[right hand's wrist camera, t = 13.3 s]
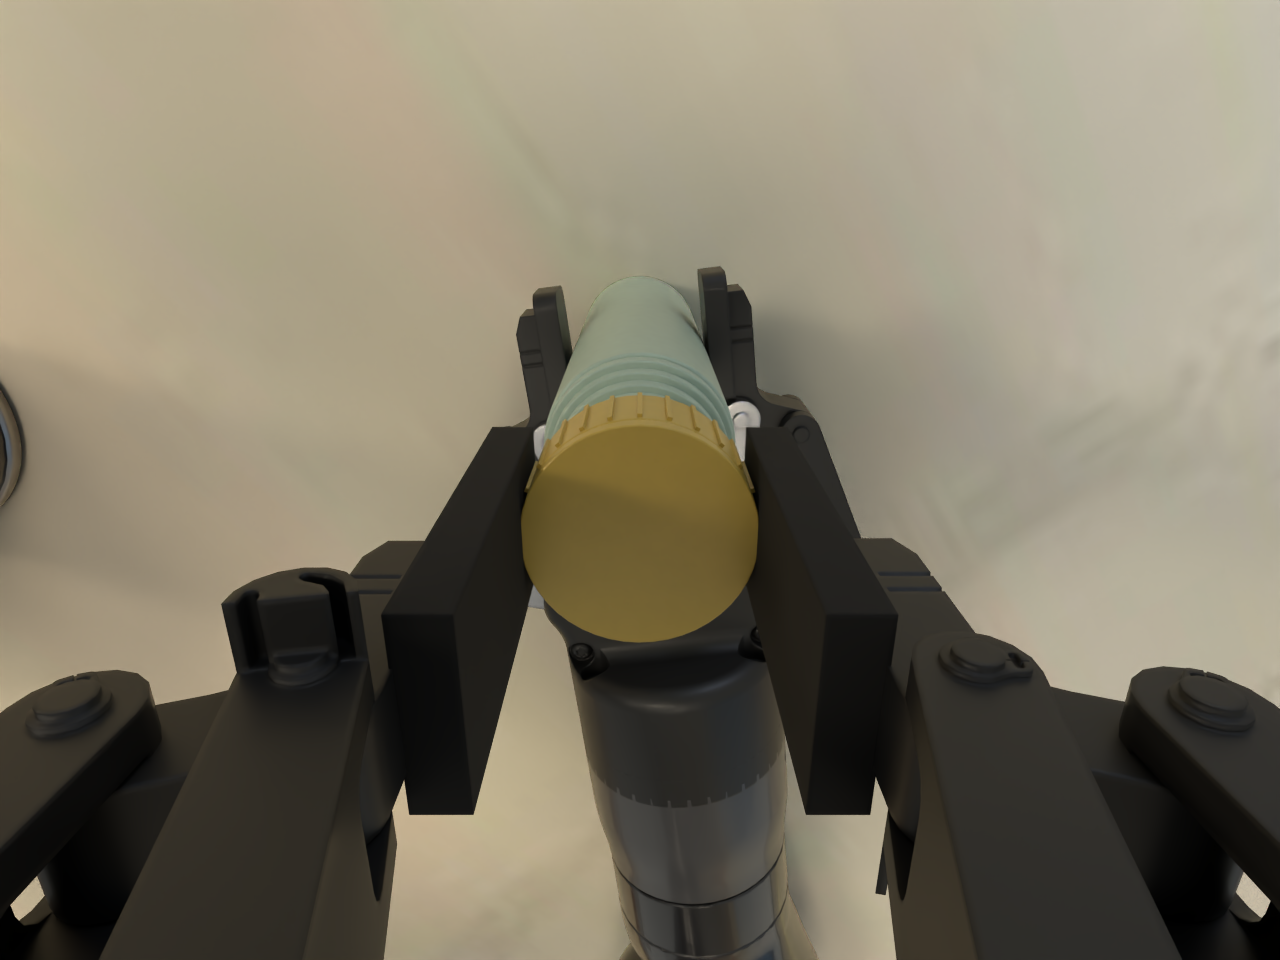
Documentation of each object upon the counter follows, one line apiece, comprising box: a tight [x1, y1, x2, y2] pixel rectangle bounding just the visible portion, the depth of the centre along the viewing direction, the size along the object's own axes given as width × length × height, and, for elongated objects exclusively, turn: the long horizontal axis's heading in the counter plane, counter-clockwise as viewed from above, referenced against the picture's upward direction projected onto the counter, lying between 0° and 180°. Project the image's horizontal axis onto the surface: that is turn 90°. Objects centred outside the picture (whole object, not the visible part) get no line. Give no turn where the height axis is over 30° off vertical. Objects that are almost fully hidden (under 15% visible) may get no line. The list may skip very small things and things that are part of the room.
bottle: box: [544, 276, 735, 444], centre depth 22 cm, size 4×4×18 cm
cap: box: [521, 392, 759, 642], centre depth 14 cm, size 4×4×2 cm
